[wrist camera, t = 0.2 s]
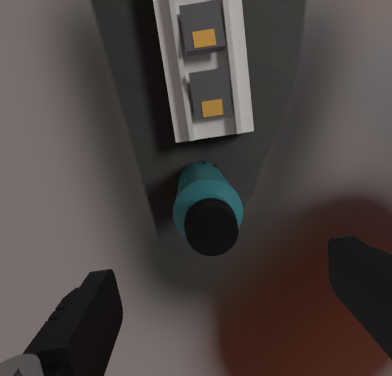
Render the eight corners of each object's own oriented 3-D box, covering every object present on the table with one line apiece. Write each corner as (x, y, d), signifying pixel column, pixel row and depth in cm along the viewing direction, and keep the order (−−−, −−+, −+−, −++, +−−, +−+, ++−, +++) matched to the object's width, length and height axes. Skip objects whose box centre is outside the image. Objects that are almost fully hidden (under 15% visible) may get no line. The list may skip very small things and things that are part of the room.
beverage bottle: (179, 202, 39) (168, 278, 19) (177, 157, 37) (164, 190, 18) (223, 201, 39) (256, 275, 19) (223, 156, 37) (259, 188, 18)
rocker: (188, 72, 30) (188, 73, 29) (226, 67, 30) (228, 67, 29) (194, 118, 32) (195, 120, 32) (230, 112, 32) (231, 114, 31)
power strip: (145, -60, 31) (136, -95, 27) (227, -74, 31) (234, -110, 27) (177, 141, 37) (175, 143, 32) (248, 130, 37) (256, 131, 32)
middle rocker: (179, 12, 30) (178, 5, 29) (218, 6, 30) (218, -2, 29) (186, 56, 30) (185, 51, 29) (224, 50, 30) (225, 45, 29)
